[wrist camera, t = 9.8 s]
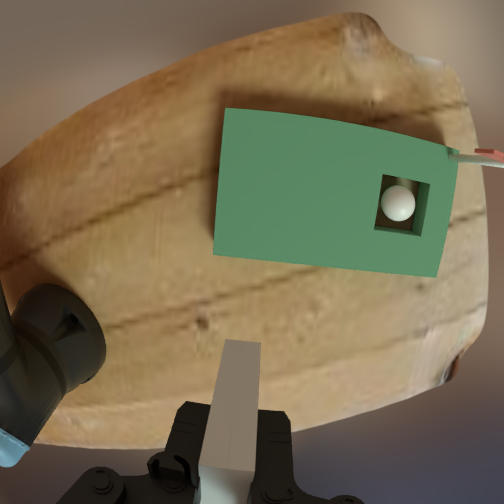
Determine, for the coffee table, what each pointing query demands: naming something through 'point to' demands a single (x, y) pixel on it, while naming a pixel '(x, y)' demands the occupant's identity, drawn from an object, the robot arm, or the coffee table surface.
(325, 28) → the coffee table surface
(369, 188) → the green
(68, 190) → the coffee table surface
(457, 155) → the pin
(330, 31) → the coffee table surface
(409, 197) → the ball
